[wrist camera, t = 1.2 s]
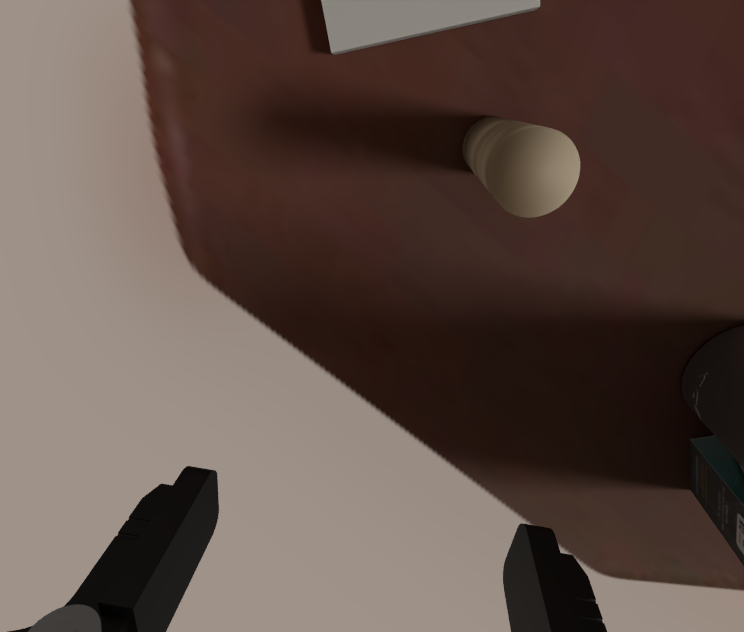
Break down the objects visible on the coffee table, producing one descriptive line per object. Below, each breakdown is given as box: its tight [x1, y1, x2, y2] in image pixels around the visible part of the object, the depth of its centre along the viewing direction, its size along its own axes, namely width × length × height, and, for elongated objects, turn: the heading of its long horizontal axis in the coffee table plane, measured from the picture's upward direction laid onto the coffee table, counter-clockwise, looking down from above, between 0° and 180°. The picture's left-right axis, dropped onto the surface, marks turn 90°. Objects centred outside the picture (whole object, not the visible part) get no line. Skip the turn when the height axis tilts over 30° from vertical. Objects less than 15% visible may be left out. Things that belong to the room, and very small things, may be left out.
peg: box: [463, 116, 580, 217], centre depth 24 cm, size 4×4×12 cm
